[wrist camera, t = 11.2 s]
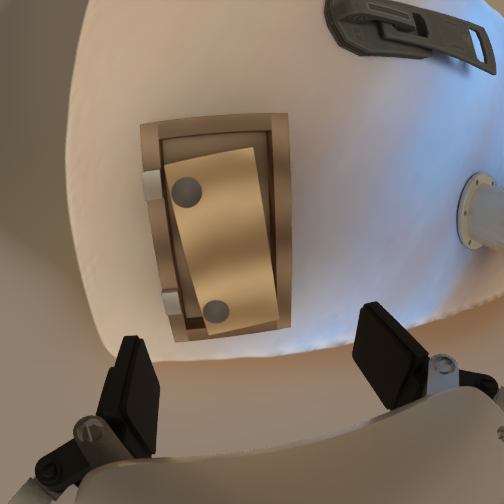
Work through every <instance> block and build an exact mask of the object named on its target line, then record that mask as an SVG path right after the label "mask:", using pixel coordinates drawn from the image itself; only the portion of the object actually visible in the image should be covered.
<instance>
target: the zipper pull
mask: <svg viewBox="0 0 504 504" xmlns="http://www.w3.org/2000/svg"><path fill="white" fill-rule="evenodd" d="M324 14H325V18H326V22H327V26H328V28H329V30H330V32H331V33H332V35H333V37H334V38H335V40H336V42H337V44H338V45H339V46H340V47H342V48H345V49H347V50H349V51H351V52H353V53H355V54H357V55H359V56H385V57H399V58H410V59H424V58H428V57H431V53H432V49H433V50H436V51H439V52H442V53H444V54H447V55H449V56H452V57H454V58H457V59H459V60H462V61H464V62H466V63H469V64H471V65H473V66H475V67H477V68H479V69H481V70H483V71H485V72H487V73H489V74H491V75H496V62H495V57H494V53H493V49H492V46H491V43H490V40H489V37H488V35H487V33H486V31H485V29H484V28H483V27H481V26H479V25H476V24H473V23H471V22H468V21H465V20H462V19H459V18H456V17H452V16H449V15H446V14H442V13H439V12H435V11H431V10H427V9H423V8H419V7H416V6H412V5H408V4H404V3H400V2H396V1H391V0H326V3H325V10H324ZM469 29H470V30H473V31H475V32H476V35H477V37H478V39H479V41H480V45H481V49H482V52H483V56H484V63H483V62H480V61H479V60H478V59H477V56H476V53H475V49H474V46H473V42H472V39H471V35H470V32H469Z"/></svg>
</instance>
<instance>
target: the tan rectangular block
mask: <svg viewBox="0 0 504 504" xmlns="http://www.w3.org/2000/svg"><path fill="white" fill-rule="evenodd" d="M164 168H165V173H166V178H167V182H168V187H169V191H170V196H171V200H172V205H173V209H174V213H175V217H176V221H177V225H178V229H179V233H180V237H181V241H182V245H183V249H184V253H185V256H186V260H187V264H188V267H189V271H190V275H191V278H192V282H193V285H194V289H195V292H196V295H197V299H198V302H199V305H200V309H201V312H202V315H203V318H204V322H205V325H206V328H207V331H208V334H209V335H213V334H217V333H222V332H227V331H231V330H236V329H240V328H245V327H249V326H253V325H257V324H261V323H266V322H270V321H274V320H278V319H279V313H278V305H277V298H276V291H275V284H274V277H273V271H272V264H271V257H270V250H269V244H268V237H267V231H266V224H265V218H264V211H263V205H262V199H261V192H260V186H259V180H258V174H257V168H256V162H255V156H254V150H253V147H247V148H240V149H235V150H229V151H224V152H218V153H213V154H208V155H203V156H199V157H194V158H190V159H185V160H181V161H177V162H172V163H169V164H166V165H164Z"/></svg>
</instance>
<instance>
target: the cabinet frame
mask: <svg viewBox="0 0 504 504" xmlns="http://www.w3.org/2000/svg"><path fill="white" fill-rule="evenodd" d="M140 133H141V147H142V159H143V169H144V172H142V179H143V187H144V195H145V201H147V203H148V211H149V218H150V224H151V231H152V237H153V243H154V249H155V254H156V260H157V265H158V270H159V275H160V280H161V285H162V298H163V302H164V307H165V311H166V315H168V316H169V320H170V324H171V328H172V332H173V336H174V340H175V342H186V341H196V340H206V339H214V338H222V337H230V336H238V335H245V334H252V333H259V332H265V331H271V330H277V329H283V328H289V327H291V279H292V227H291V176H290V147H289V125H288V114H286V113H262V114H232V115H216V116H204V117H193V118H184V119H176V120H168V121H161V122H154V123H148V124H142V125H140ZM247 147H253V150H254V156H255V162H256V168H257V174H258V180H259V186H260V192H261V199H262V205H263V211H264V218H265V224H266V231H267V237H268V244H269V250H270V257H271V264H272V271H273V277H274V284H275V291H276V298H277V305H278V313H279V319H278V320H274V321H270V322H266V323H261V324H257V325H253V326H249V327H245V328H240V329H236V330H231V331H227V332H222V333H217V334H213V335H209V334H208V331H207V328H206V325H205V322H204V318H203V315H202V312H201V309H200V305H199V302H198V299H197V295H196V292H195V289H194V285H193V282H192V278H191V275H190V271H189V267H188V264H187V260H186V256H185V253H184V249H183V245H182V241H181V237H180V233H179V229H178V225H177V221H176V217H175V213H174V209H173V205H172V200H171V196H170V191H169V187H168V182H167V178H166V173H165V168H164V165H166V164H169V163H172V162H177V161H181V160H185V159H190V158H194V157H199V156H203V155H208V154H213V153H218V152H224V151H229V150H235V149H240V148H247Z"/></svg>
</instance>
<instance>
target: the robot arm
mask: <svg viewBox="0 0 504 504" xmlns="http://www.w3.org/2000/svg"><path fill="white" fill-rule="evenodd" d="M457 222H458V232H459V236H460V239H461V241H462V243H463V244H464V245H465V246H466V247H467V248H469V249H472V250H476V249H479V248H480V247H482V246H483V245H485V246H487V247H489V248H491V249H493V250H495V251H497V252H499V253H500V254H502V255H504V189H503V188H499V187H496V184H495V182H494V180H493V179H492V177H491V176H489V175H488V174H485V173H477V174H475V175H474V176H472V178H471V179H470V180H469V181H468V183H467V184H466V186H465V188H464V190H463V193H462V196H461V199H460V204H459V209H458V221H457ZM428 354H429V353H428V352H427V351H426V350H425V349H424V348H423V347H422V346H421V345H420V344H419V343H418V342H417V341H416V340H415V339H414V338H413V337H412V336H411V335H410V333H409V332H407V330H406V329H405V328H404V327H403V326H402V325H401V324H400V323H399V322H398V321H397V320H396V319H395V318H394V317H393V316H391V315H390V314H389V313H388V312H387V311H386V310H385V309H384V308H383V307H382V306H381V305H380V304H379V303H378V302H376V301H375V302H370V303H366V304H364V306H363V308H361V309H360V315H359V320H358V326H357V331H356V336H355V342H354V347H353V351H352V356H353V359H354V361H355V363H356V364H357V366H358V367H359V368H360V370H361V371H362V373H363V374H364V376H365V377H366V379H367V380H368V382H369V383H370V385H371V386H372V388H373V389H374V391H375V392H376V394H377V395H378V397H379V398H380V400H381V401H382V403H383V405H384V406H385V407H386V409H390V410H391V411H390V412H387V413H385V414H382V415H380V416H378V417H375V418H372V419H369V420H367V421H364V422H361V423H358V424H355V425H352V426H349V427H346V428H343V429H340V430H337V431H333V432H330V433H327V434H323V435H319V436H316V437H312V438H308V439H304V440H300V441H296V442H291V443H287V444H282V445H277V446H272V447H267V448H261V449H255V450H249V451H242V452H235V453H226V454H216V455H204V456H190V457H169V458H167V457H166V458H151V456H152V454H155V452H156V435H157V421H158V408H159V397H160V385H159V381H158V379H157V376H156V374H155V371H154V368H153V366H152V363H151V360H150V357H149V354H148V351H147V349H146V346H145V343H144V340H143V339H139V337H138V336H137V335H135V336H124V338H123V341H122V344H121V347H120V350H119V353H118V356H117V359H116V363H115V366H114V367H111V368H110V369H109V371H108V374H107V377H106V380H105V384H104V387H103V391H102V394H101V398H100V401H99V405H98V408H97V412H96V416H94V415H90V416H86V417H83V418H82V419H80V420H79V421H78V422H77V423H76V424H75V426H74V429H73V436H74V438H73V439H72V440H70V441H69V442H67V443H65V444H64V445H62V446H61V447H59V448H57V449H56V450H54V451H52V452H51V453H49V454H47V455H46V456H44V457H42V458H41V459H40V460H39V461H38V462H37V464H36V467H35V475H36V476H35V477H34V479H32V478H31V477H30V478H29V479H28V480H27V482H26V483H25V484H24V485H23V486H22V487H21V488H20V490H19V491H18V492H17V493H16V494H15V495H14V496H13V497H12V499H11V500H10V501H9V503H8V504H504V387H503V386H501V387H500V388H498V384H497V382H496V380H495V379H494V378H492V377H491V376H489V375H485V374H480V373H474V372H469V371H464V370H459V368H458V364H457V362H456V361H455V360H454V359H453V358H452V357H450V356H448V355H445V354H438V355H434V356H433V357H431V359H430V358H429V357H428Z"/></svg>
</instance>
